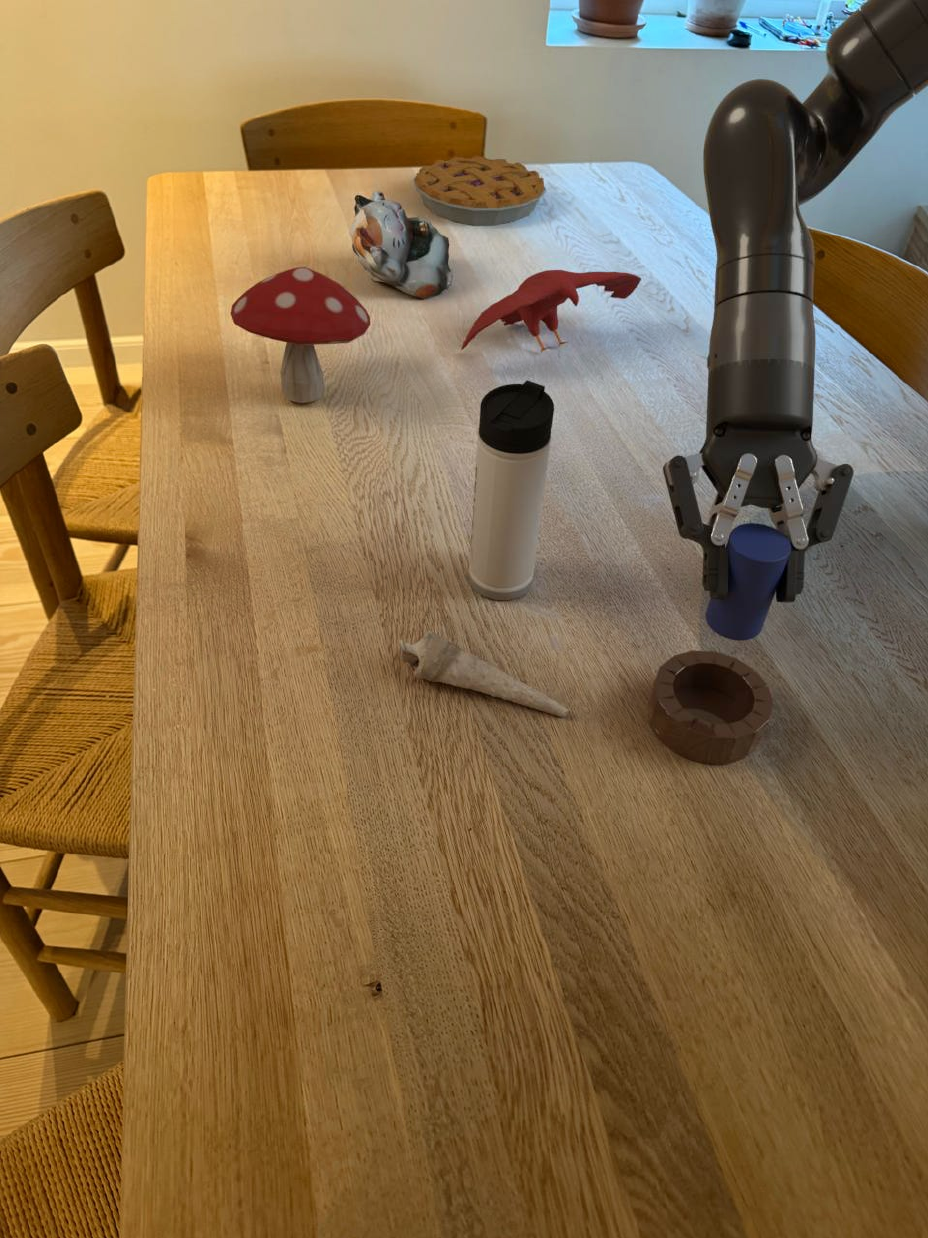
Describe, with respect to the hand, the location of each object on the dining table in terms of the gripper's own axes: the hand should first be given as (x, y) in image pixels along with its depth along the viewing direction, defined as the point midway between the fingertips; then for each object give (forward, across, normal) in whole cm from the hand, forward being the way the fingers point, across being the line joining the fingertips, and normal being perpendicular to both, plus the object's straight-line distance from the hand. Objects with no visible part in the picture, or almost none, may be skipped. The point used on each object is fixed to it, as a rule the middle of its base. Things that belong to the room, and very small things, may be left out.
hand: (752, 599), depth 70 cm
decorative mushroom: (-25, -40, +47) cm, 67 cm away
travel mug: (-2, -17, +23) cm, 29 cm away
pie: (-70, -19, +91) cm, 117 cm away
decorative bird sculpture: (-36, -11, +57) cm, 69 cm away
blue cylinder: (+1, 0, +4) cm, 5 cm away
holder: (+10, 0, +11) cm, 15 cm away
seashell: (+8, -19, +14) cm, 25 cm away
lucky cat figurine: (-47, -30, +69) cm, 89 cm away
